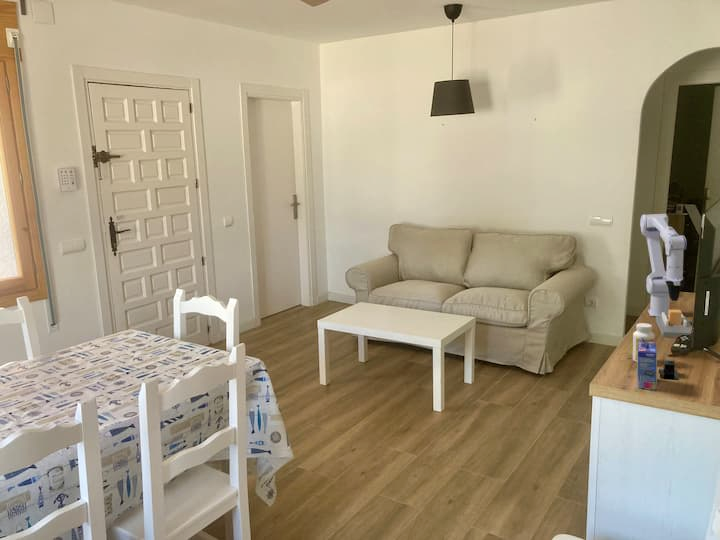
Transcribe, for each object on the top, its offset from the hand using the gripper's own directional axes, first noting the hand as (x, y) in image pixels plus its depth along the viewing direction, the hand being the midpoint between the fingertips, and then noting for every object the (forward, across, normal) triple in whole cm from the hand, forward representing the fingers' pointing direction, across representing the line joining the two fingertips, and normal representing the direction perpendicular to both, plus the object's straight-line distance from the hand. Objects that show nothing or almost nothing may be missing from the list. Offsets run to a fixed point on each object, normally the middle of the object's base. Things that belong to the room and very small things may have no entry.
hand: (673, 299), depth 229 cm
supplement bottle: (+12, +45, -15) cm, 49 cm away
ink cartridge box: (+12, +65, -16) cm, 68 cm away
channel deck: (+10, +6, 0) cm, 12 cm away
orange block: (+8, +5, 0) cm, 10 cm away
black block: (+12, +56, -9) cm, 58 cm away
